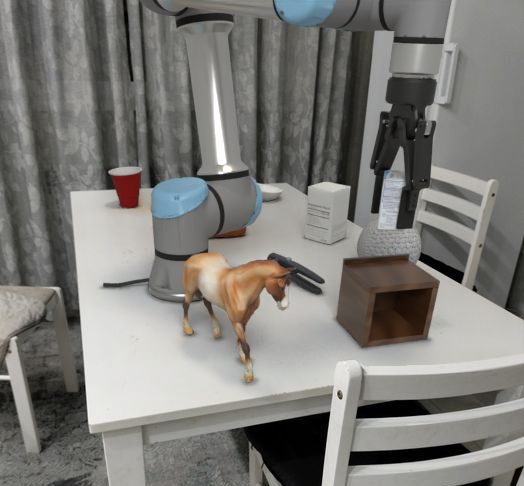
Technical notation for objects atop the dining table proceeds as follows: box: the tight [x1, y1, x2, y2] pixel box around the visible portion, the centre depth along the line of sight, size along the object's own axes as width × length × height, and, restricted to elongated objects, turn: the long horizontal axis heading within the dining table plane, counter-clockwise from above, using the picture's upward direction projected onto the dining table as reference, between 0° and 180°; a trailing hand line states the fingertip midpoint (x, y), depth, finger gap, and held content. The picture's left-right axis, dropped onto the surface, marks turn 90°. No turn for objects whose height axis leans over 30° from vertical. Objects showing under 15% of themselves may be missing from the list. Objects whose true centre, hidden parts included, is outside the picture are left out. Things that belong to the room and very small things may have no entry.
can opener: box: [266, 252, 326, 295], centre depth 122 cm, size 18×7×6 cm, turn 40°
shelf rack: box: [335, 254, 441, 348], centre depth 101 cm, size 14×12×13 cm
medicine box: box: [377, 169, 406, 232], centre depth 91 cm, size 8×4×9 cm, turn 168°
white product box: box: [304, 181, 352, 245], centre depth 150 cm, size 9×9×15 cm
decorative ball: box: [356, 217, 422, 265], centre depth 125 cm, size 15×15×15 cm
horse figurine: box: [181, 252, 296, 383], centre depth 90 cm, size 31×8×21 cm, turn 35°
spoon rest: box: [256, 182, 284, 202], centre depth 188 cm, size 24×12×7 cm, turn 94°
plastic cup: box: [108, 166, 143, 209], centre depth 173 cm, size 11×11×12 cm
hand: (390, 220), depth 92 cm, fingers closed on medicine box, 9 cm apart
